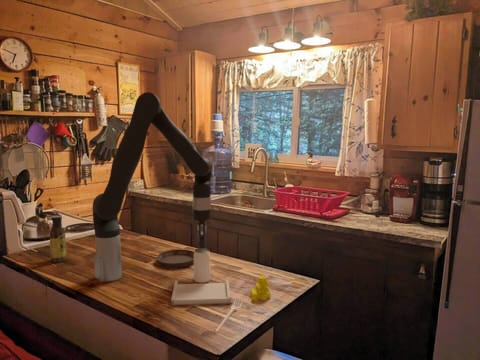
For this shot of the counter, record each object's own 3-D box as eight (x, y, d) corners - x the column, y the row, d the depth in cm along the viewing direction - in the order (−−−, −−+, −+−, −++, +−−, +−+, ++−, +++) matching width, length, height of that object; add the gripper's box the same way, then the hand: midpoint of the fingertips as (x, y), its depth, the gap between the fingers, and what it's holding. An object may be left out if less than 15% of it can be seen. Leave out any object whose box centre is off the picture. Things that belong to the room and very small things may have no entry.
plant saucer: (167, 272, 158) (167, 265, 157) (150, 260, 172) (150, 254, 171) (204, 263, 168) (204, 257, 168) (185, 253, 182) (185, 247, 182)
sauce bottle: (64, 262, 168) (61, 218, 165) (48, 263, 167) (46, 218, 164) (68, 257, 174) (66, 214, 171) (53, 258, 173) (51, 215, 170)
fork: (211, 332, 113) (210, 326, 112) (235, 302, 131) (235, 297, 131) (221, 335, 112) (221, 329, 111) (244, 304, 130) (244, 298, 130)
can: (203, 284, 145) (203, 254, 144) (190, 281, 149) (190, 251, 147) (213, 279, 151) (213, 249, 149) (200, 275, 154) (200, 246, 152)
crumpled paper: (246, 298, 134) (247, 276, 133) (260, 290, 140) (260, 270, 139) (260, 303, 131) (260, 281, 130) (273, 295, 137) (274, 274, 136)
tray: (175, 285, 144) (175, 280, 144) (228, 283, 146) (228, 279, 146) (171, 305, 128) (170, 300, 128) (230, 303, 130) (230, 298, 130)
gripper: (211, 211, 149) (211, 254, 151) (211, 204, 162) (211, 243, 164) (191, 211, 148) (192, 254, 151) (193, 204, 161) (193, 244, 164)
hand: (202, 248), depth 158 cm, fingers closed
